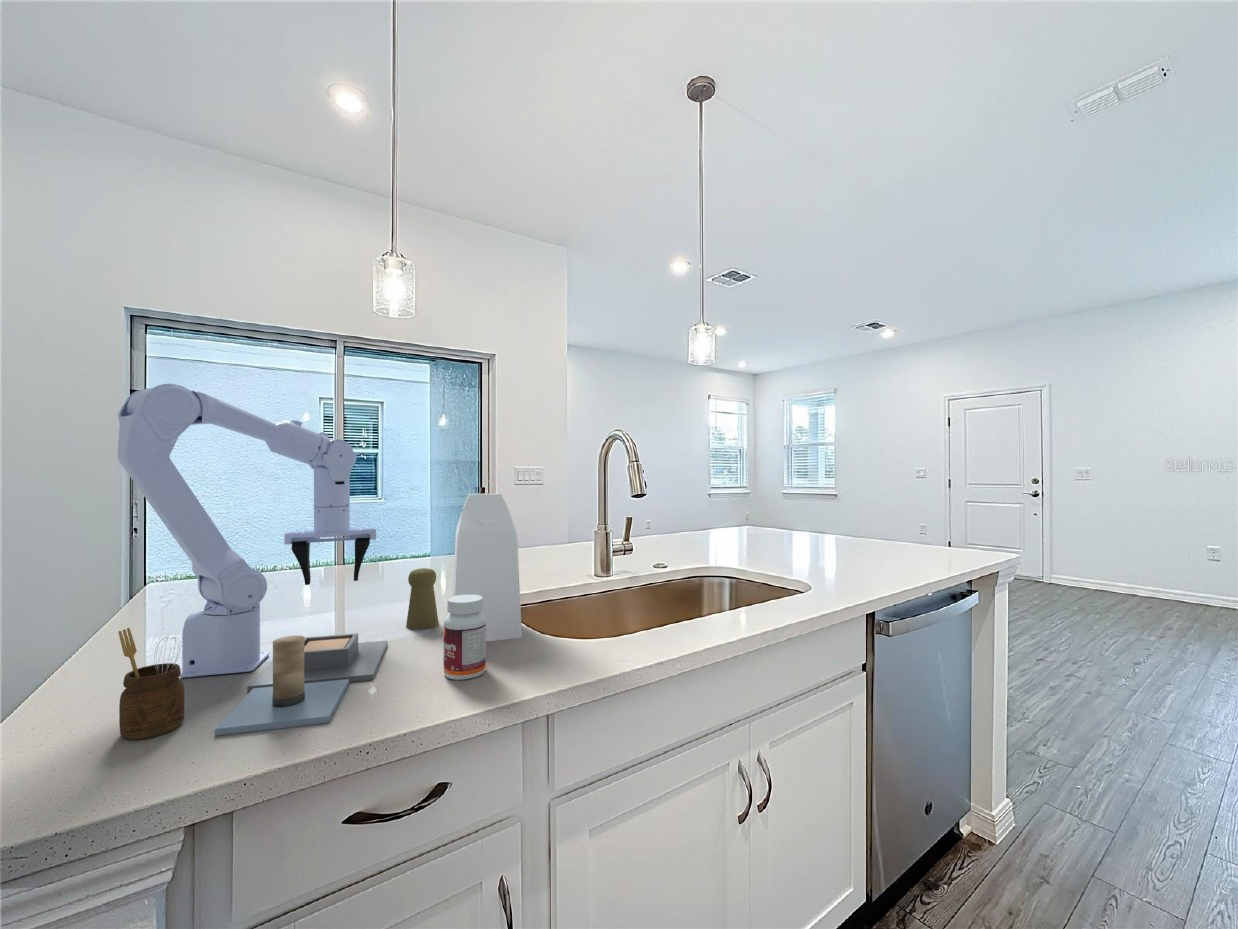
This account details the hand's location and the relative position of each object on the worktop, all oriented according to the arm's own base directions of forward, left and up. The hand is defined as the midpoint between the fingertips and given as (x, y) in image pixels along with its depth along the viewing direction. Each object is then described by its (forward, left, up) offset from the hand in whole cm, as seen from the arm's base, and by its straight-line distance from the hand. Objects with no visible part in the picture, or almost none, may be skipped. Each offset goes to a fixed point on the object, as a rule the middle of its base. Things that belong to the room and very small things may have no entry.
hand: (332, 581), depth 99 cm
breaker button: (+2, -14, -9) cm, 17 cm away
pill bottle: (+23, -23, -11) cm, 34 cm away
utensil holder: (-13, -31, -11) cm, 35 cm away
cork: (+15, +5, -11) cm, 19 cm away
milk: (+27, -3, -11) cm, 29 cm away
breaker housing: (+2, -14, -10) cm, 17 cm away
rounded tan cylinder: (+1, -29, -10) cm, 30 cm away
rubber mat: (+1, -29, -10) cm, 31 cm away
